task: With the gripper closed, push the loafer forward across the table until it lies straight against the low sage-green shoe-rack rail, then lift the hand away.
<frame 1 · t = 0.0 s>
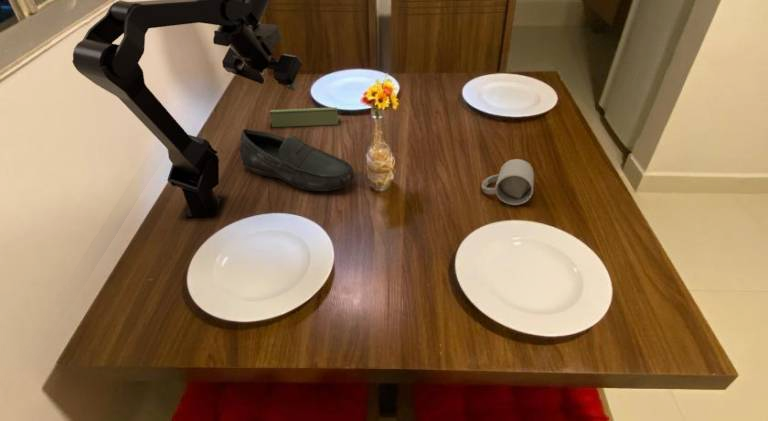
hand: (278, 85, 107), 15 cm above the table, tool tilted 35°, fingers open, 9 cm apart
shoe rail: (305, 123, 123), on the table
ceramic mug: (506, 194, 98), on the table
loafer: (297, 177, 104), on the table
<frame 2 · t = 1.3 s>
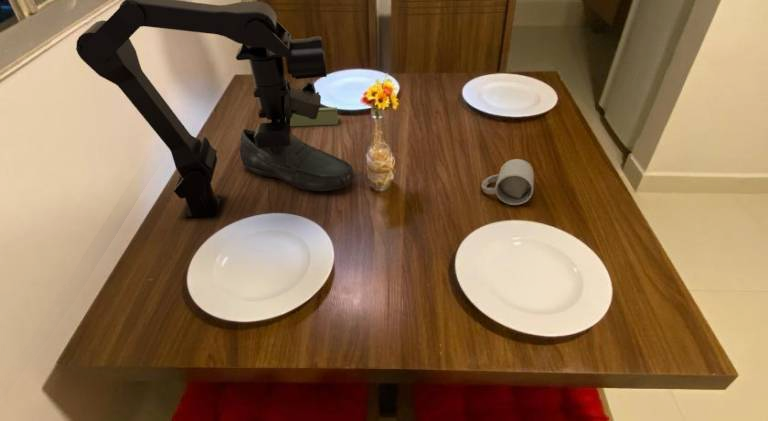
hand: (285, 153, 89), 12 cm above the table, tool pointing down, fingers open, 9 cm apart
nothing on the table moved.
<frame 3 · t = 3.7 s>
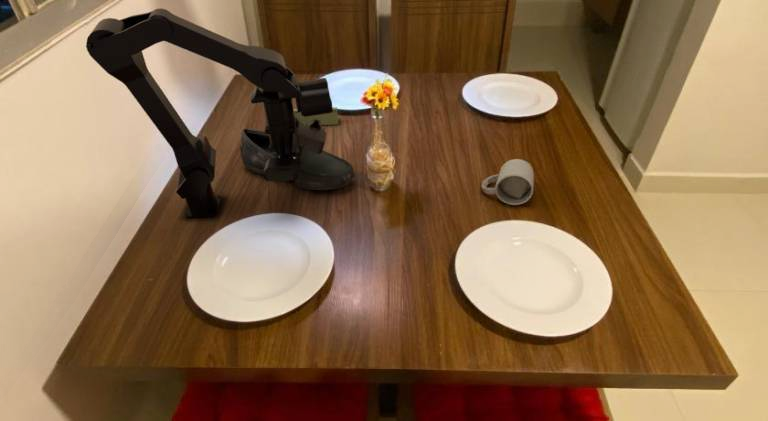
hand: (292, 182, 97), 3 cm above the table, tool pointing down, fingers closed
loafer: (297, 176, 104), on the table, touching gripper
everything else where it was.
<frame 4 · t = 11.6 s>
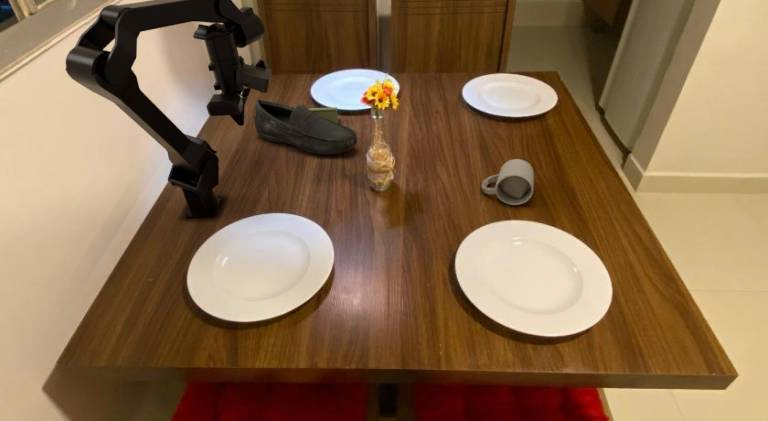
hand: (241, 124, 99), 12 cm above the table, tool pointing down, fingers closed
loafer: (305, 143, 115), on the table, touching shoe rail
everything else where it was.
at the end: loafer inside the target area on the table beside the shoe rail (2.4 cm from its centre), on the table; loafer moved 14.8 cm from its start; loafer tilted 0° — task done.
